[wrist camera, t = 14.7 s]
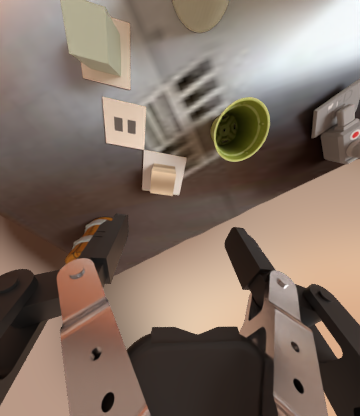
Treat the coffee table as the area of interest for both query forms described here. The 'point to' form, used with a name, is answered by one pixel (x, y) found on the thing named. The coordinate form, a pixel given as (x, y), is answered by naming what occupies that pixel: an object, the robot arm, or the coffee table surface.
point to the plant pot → (241, 129)
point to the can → (200, 13)
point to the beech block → (163, 179)
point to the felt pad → (164, 159)
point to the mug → (85, 238)
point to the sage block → (92, 35)
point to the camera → (339, 125)
